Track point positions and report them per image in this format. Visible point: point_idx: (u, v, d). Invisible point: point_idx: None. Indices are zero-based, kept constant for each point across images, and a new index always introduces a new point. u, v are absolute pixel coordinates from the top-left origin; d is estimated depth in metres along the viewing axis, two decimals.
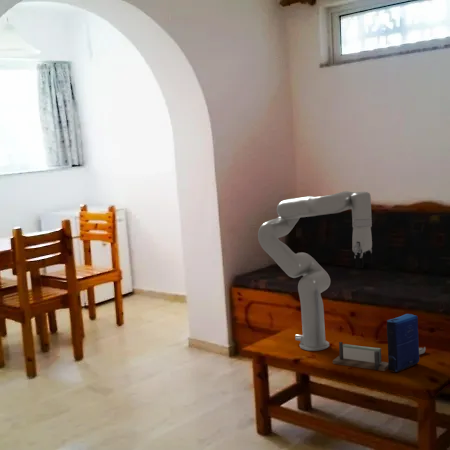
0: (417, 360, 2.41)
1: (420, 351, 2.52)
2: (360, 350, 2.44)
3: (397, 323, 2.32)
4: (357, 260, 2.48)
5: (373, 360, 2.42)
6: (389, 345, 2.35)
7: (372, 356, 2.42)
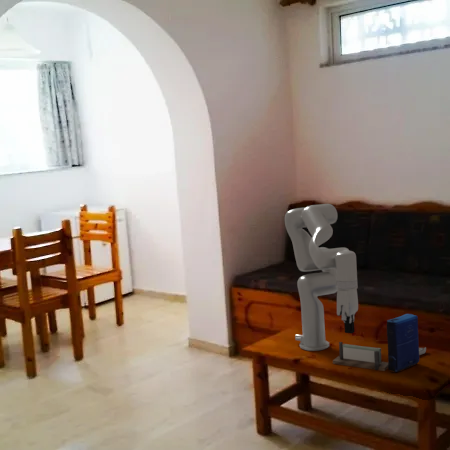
0: (417, 360, 2.41)
1: (421, 351, 2.52)
2: (360, 350, 2.44)
3: (397, 323, 2.32)
4: (346, 325, 2.34)
5: (373, 360, 2.42)
6: (389, 345, 2.35)
7: (372, 356, 2.42)
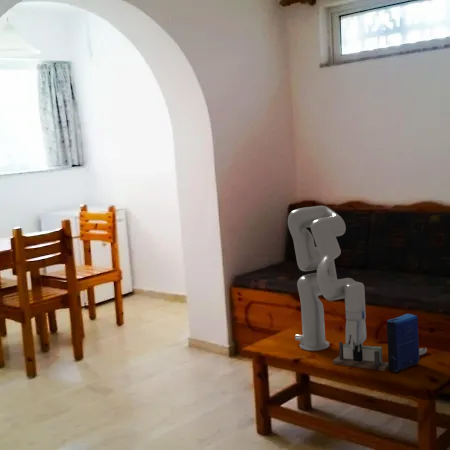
0: (417, 360, 2.41)
1: (422, 351, 2.51)
2: None
3: (397, 323, 2.32)
4: (355, 353, 2.42)
5: (374, 359, 2.43)
6: (389, 345, 2.35)
7: (373, 355, 2.43)
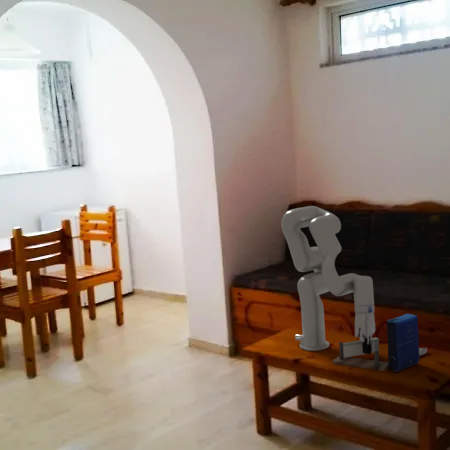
0: (417, 360, 2.41)
1: (422, 352, 2.51)
2: (360, 344, 2.51)
3: (397, 323, 2.32)
4: (364, 346, 2.47)
5: (372, 350, 2.52)
6: (389, 345, 2.35)
7: None
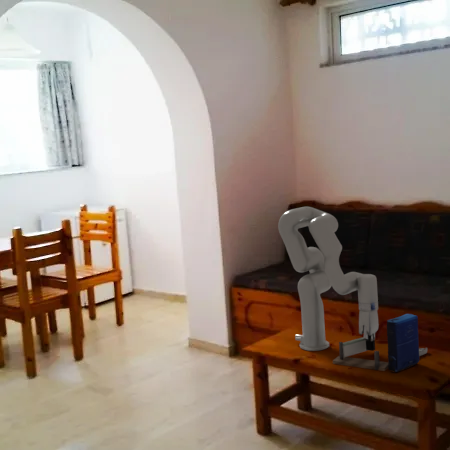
0: (417, 360, 2.41)
1: (422, 352, 2.51)
2: (357, 343, 2.53)
3: (397, 323, 2.32)
4: (368, 343, 2.52)
5: None
6: (389, 345, 2.35)
7: None
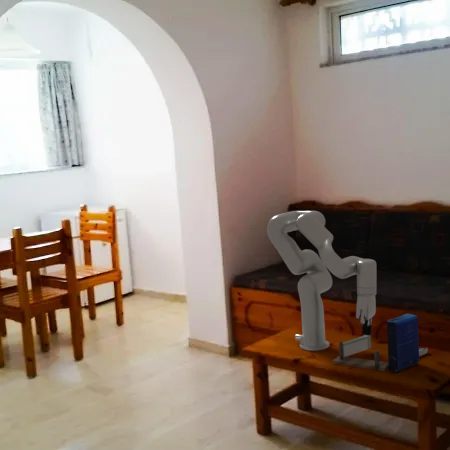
0: (417, 360, 2.41)
1: (422, 352, 2.51)
2: (356, 342, 2.53)
3: (397, 323, 2.32)
4: (364, 327, 2.52)
5: (365, 347, 2.57)
6: (389, 345, 2.35)
7: (365, 344, 2.56)
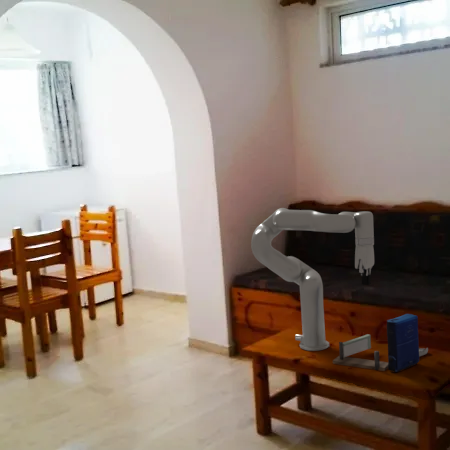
0: (417, 360, 2.41)
1: (423, 352, 2.51)
2: (356, 342, 2.53)
3: (397, 323, 2.32)
4: (363, 277, 2.63)
5: (365, 347, 2.57)
6: (389, 345, 2.35)
7: (365, 344, 2.56)
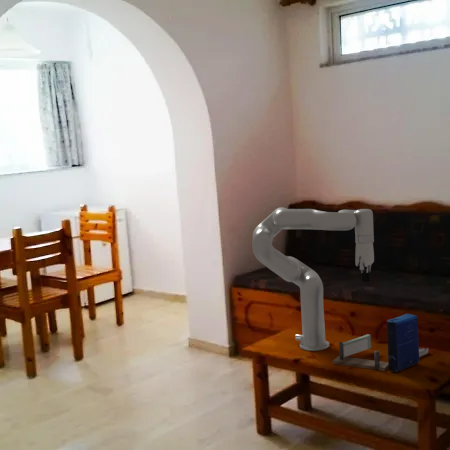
0: (417, 360, 2.41)
1: (423, 352, 2.51)
2: (356, 342, 2.53)
3: (397, 323, 2.32)
4: (364, 275, 2.65)
5: (365, 347, 2.57)
6: (389, 345, 2.35)
7: (365, 344, 2.56)
